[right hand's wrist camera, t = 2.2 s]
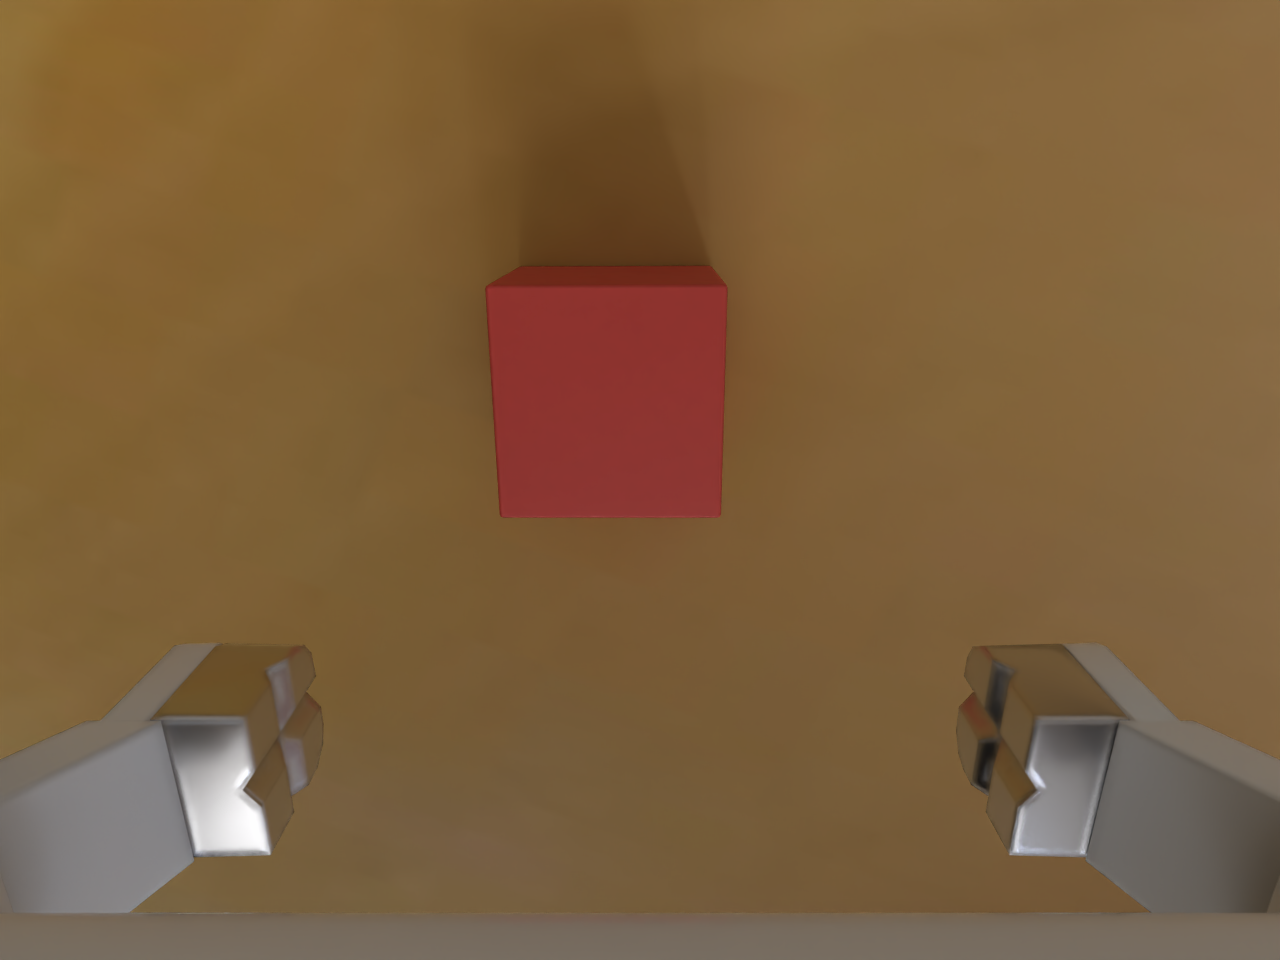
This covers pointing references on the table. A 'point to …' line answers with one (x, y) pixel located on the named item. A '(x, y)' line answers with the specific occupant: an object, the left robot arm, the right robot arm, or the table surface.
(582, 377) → the red cube
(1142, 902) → the right robot arm
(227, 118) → the table surface
